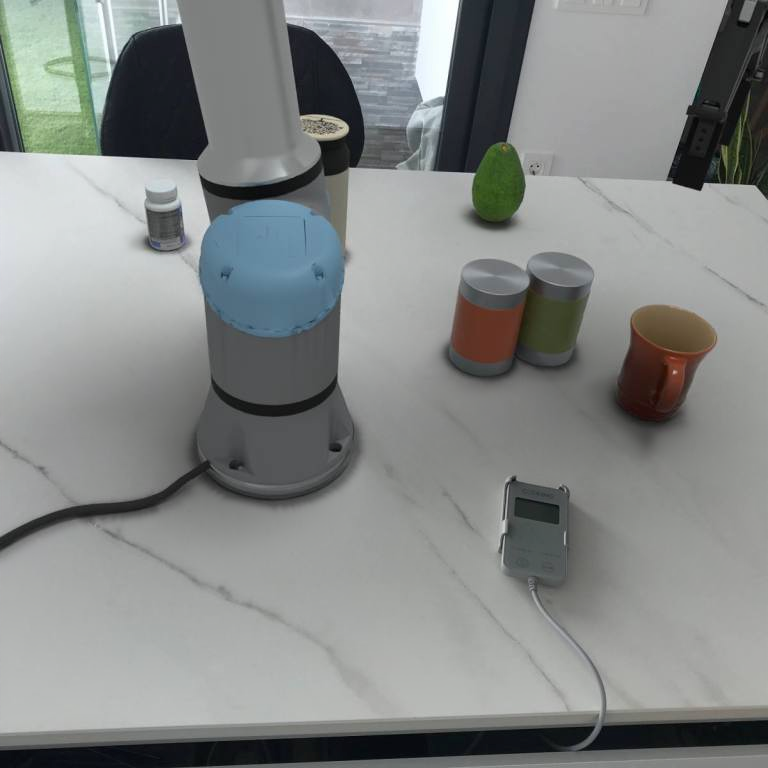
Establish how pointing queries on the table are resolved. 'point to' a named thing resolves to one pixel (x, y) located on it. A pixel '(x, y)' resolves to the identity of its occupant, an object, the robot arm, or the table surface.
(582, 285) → the tins
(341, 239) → the travel mug
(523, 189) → the fruit
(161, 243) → the pill bottle
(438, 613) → the table surface
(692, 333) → the mug
